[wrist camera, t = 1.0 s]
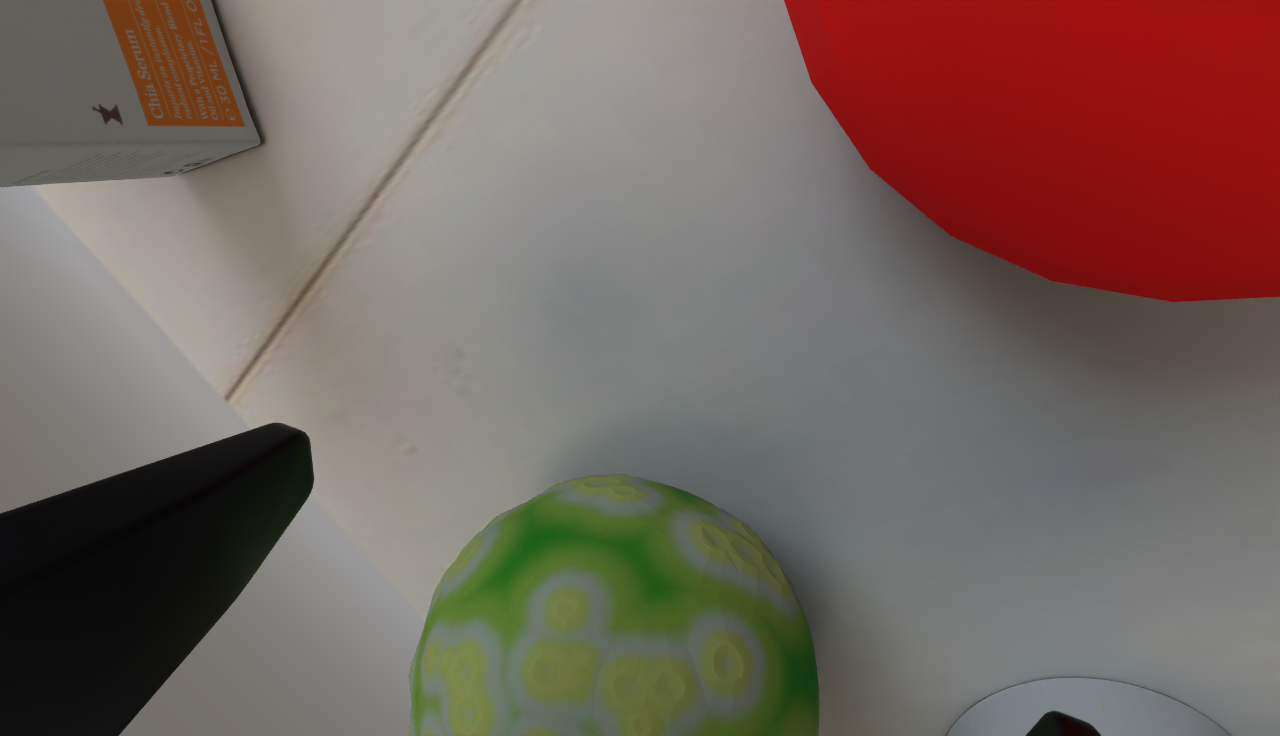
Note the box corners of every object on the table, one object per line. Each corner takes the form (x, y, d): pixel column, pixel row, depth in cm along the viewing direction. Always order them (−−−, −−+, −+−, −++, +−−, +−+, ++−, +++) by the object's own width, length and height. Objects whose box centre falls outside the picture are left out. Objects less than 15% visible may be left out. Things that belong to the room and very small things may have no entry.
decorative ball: (914, 617, 21) (916, 992, 12) (666, 746, 25) (530, 1090, 16) (683, 351, 21) (508, 524, 12) (475, 526, 25) (232, 749, 16)
